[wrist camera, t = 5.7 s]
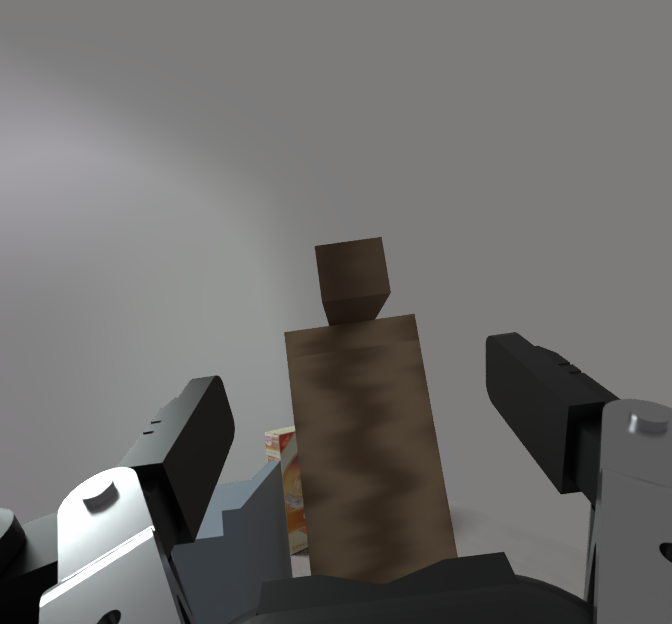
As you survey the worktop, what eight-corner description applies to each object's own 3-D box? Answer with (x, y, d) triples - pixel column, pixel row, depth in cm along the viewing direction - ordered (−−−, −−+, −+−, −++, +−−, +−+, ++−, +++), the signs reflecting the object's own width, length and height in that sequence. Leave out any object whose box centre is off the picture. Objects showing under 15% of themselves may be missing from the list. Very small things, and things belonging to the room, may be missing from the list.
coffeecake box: (290, 556, 58) (278, 434, 61) (273, 543, 63) (262, 431, 67) (361, 524, 66) (347, 418, 69) (340, 514, 72) (328, 417, 75)
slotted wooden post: (342, 851, 21) (284, 332, 27) (346, 699, 31) (303, 342, 37) (507, 835, 21) (414, 313, 26) (458, 686, 31) (398, 329, 36)
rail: (322, 302, 18) (314, 246, 18) (334, 342, 41) (331, 317, 42) (390, 292, 18) (381, 237, 18) (363, 338, 41) (360, 313, 42)
